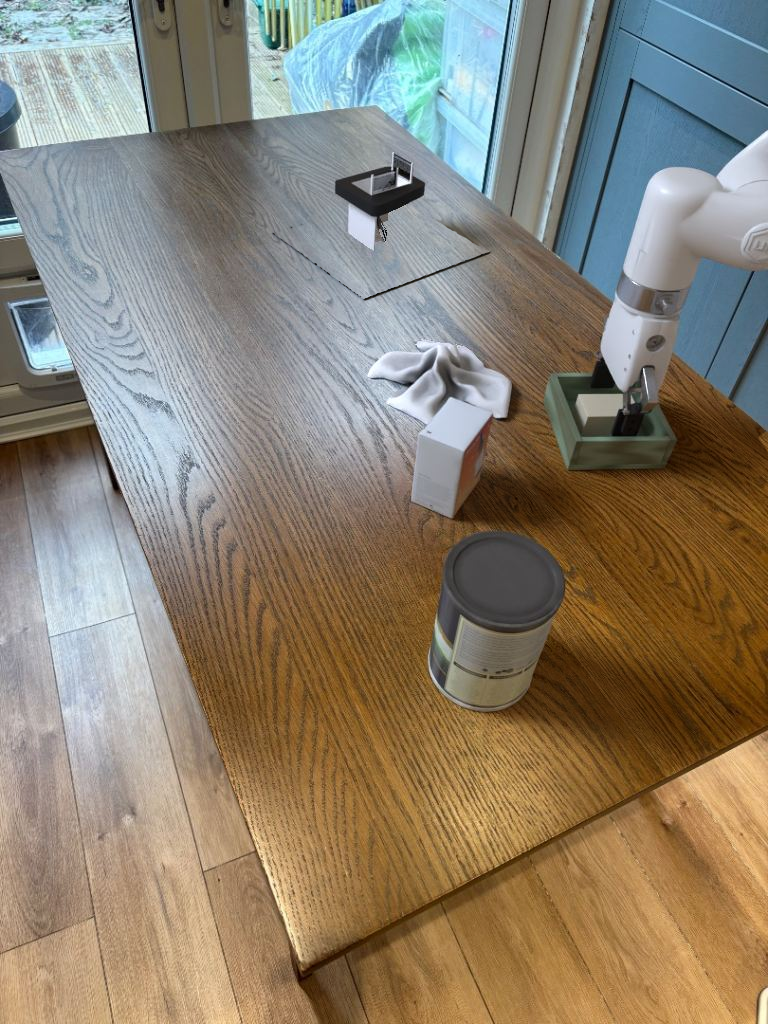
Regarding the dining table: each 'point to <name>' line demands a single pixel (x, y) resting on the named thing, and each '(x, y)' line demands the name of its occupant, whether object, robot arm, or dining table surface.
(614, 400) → the cream rectangular block
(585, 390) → the holder
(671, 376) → the dining table surface
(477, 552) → the coffee can
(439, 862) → the dining table surface
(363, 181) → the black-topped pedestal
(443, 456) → the small box
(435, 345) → the cloth
